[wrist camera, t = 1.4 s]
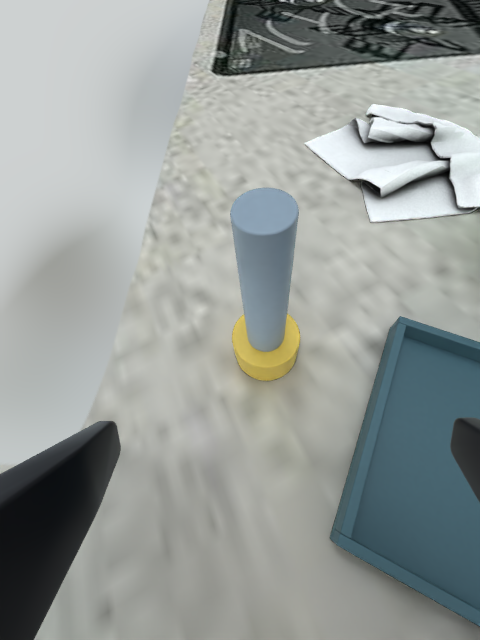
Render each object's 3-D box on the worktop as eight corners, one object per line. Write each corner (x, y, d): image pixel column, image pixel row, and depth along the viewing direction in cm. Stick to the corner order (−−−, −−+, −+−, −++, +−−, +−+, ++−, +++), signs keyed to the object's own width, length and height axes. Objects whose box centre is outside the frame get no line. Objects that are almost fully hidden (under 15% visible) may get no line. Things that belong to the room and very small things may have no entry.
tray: (555, 666, 14) (597, 693, 12) (329, 538, 17) (336, 545, 16) (557, 386, 20) (585, 377, 19) (389, 328, 23) (400, 315, 22)
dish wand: (299, 380, 22) (338, 254, 10) (235, 381, 22) (197, 262, 10) (293, 323, 24) (320, 165, 12) (236, 325, 25) (205, 173, 12)
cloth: (546, 223, 27) (569, 201, 25) (305, 222, 30) (308, 202, 28) (481, 106, 37) (494, 83, 35) (303, 112, 39) (305, 91, 37)
